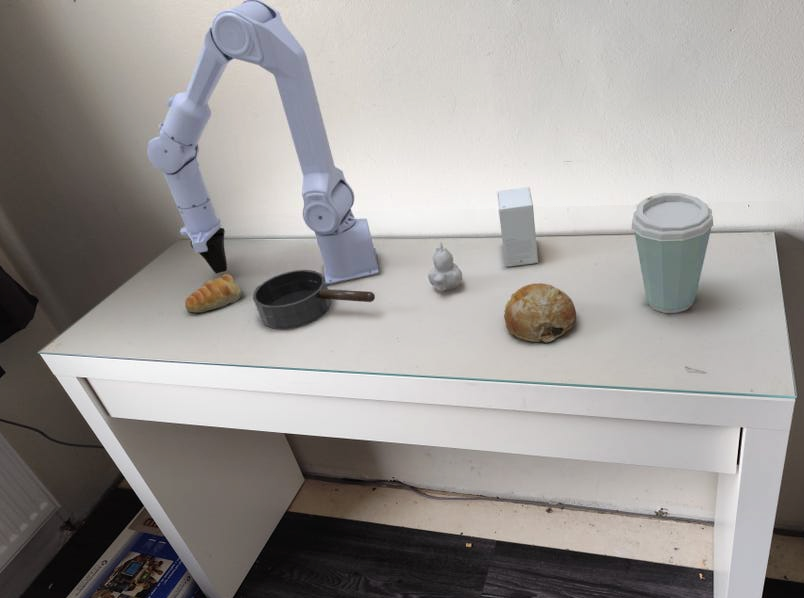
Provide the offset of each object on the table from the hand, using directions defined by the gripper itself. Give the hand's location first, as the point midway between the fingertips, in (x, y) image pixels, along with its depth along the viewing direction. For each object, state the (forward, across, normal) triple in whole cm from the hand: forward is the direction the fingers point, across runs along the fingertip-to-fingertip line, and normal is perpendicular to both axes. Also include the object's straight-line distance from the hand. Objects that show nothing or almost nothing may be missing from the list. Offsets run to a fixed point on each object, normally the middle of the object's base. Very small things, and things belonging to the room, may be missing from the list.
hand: (221, 270), depth 124 cm
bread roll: (+2, +38, +50) cm, 63 cm away
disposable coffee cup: (+2, +40, +69) cm, 80 cm away
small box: (+2, +16, +53) cm, 55 cm away
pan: (+2, +18, +14) cm, 23 cm away
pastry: (+2, +9, 0) cm, 9 cm away
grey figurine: (+2, +22, +39) cm, 45 cm away
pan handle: (-1, +23, +23) cm, 33 cm away
